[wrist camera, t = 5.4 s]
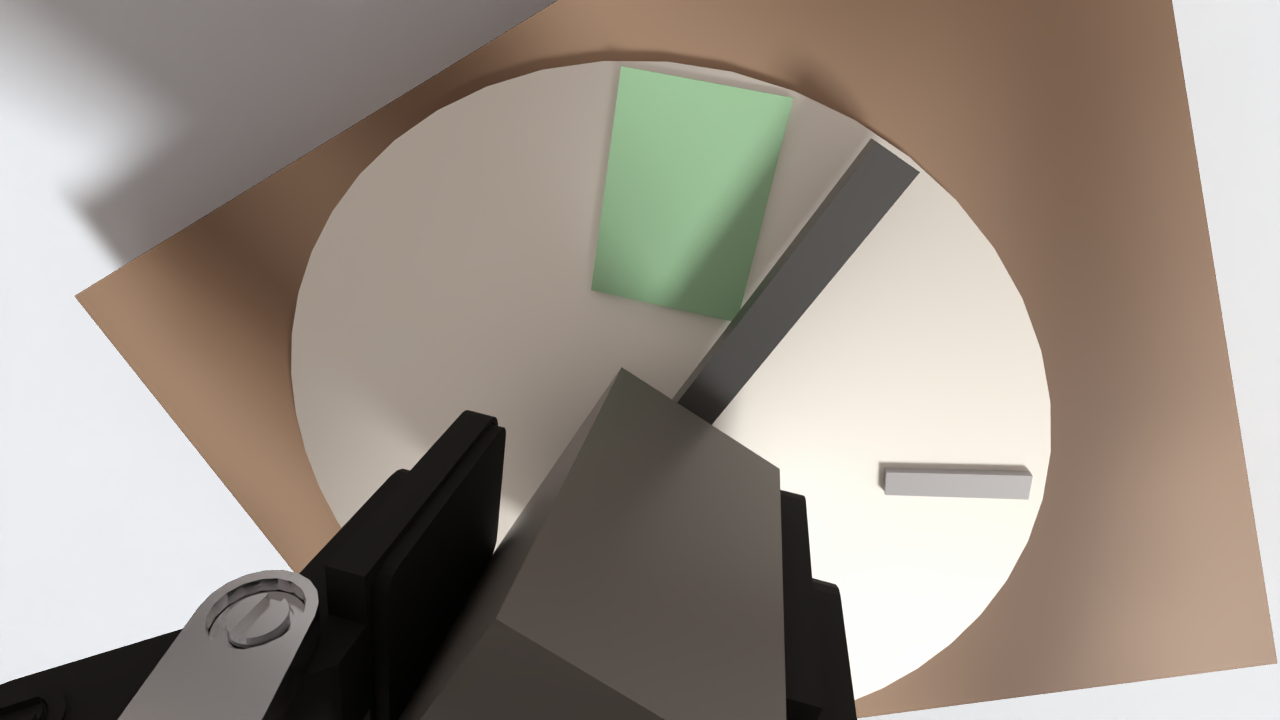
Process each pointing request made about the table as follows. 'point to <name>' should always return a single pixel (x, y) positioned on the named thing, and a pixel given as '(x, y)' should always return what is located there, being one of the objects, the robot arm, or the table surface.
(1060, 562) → the tuner board
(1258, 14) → the table surface
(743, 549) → the grey mallet
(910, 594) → the dial face
